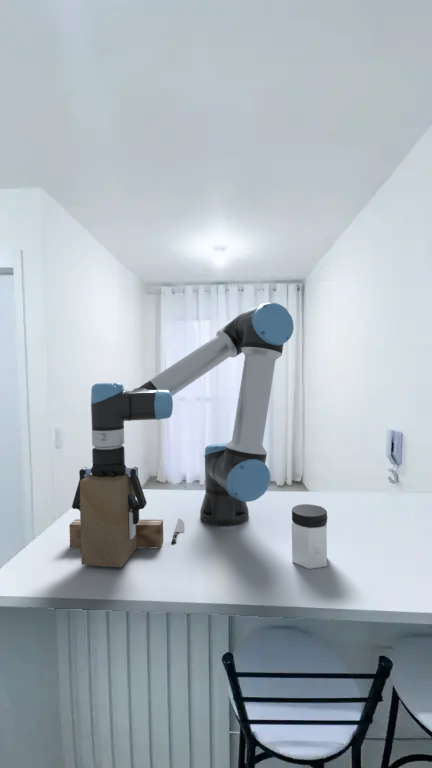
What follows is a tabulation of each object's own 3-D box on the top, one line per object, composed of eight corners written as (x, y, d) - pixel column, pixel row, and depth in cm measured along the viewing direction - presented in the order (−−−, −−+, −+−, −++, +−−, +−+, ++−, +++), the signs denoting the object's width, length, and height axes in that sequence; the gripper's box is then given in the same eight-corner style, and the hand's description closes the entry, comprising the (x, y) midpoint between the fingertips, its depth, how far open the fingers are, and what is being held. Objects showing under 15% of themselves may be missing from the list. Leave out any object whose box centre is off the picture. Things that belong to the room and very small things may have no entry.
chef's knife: (188, 518, 114) (178, 517, 114) (188, 514, 114) (178, 514, 114) (182, 546, 95) (170, 545, 95) (182, 542, 95) (171, 541, 95)
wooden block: (121, 568, 83) (119, 481, 82) (80, 565, 84) (78, 480, 84) (137, 547, 92) (135, 470, 92) (100, 545, 94) (98, 469, 93)
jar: (300, 571, 81) (299, 518, 81) (285, 554, 89) (284, 506, 89) (336, 566, 83) (335, 514, 83) (318, 549, 91) (317, 502, 91)
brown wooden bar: (163, 541, 97) (162, 519, 97) (160, 547, 93) (160, 524, 93) (75, 541, 98) (75, 518, 98) (70, 547, 95) (69, 524, 94)
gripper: (54, 449, 85) (57, 543, 85) (151, 449, 84) (153, 543, 84) (69, 443, 92) (71, 529, 93) (158, 443, 91) (159, 530, 92)
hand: (110, 536), depth 88 cm, fingers closed on wooden block, 10 cm apart
